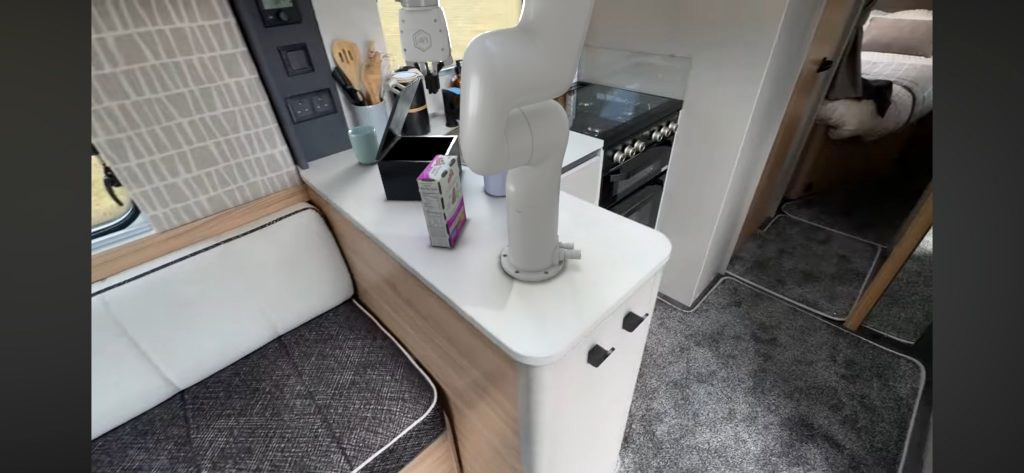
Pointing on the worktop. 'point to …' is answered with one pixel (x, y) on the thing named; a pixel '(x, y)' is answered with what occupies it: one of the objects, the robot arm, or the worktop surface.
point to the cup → (364, 143)
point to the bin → (412, 163)
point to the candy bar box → (442, 200)
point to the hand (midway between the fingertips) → (433, 92)
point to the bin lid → (397, 112)
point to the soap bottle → (496, 184)
